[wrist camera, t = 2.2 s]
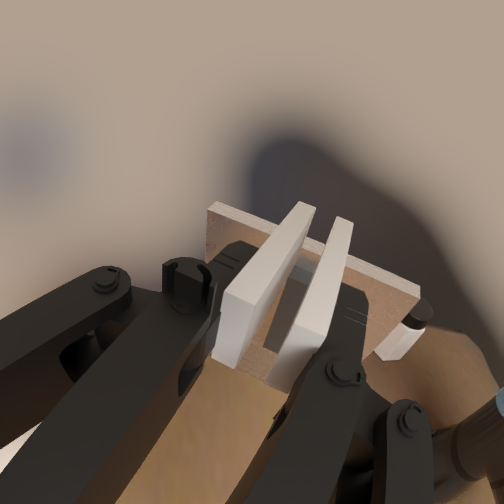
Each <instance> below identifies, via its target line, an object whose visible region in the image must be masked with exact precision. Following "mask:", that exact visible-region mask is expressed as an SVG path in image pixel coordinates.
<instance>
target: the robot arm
mask: <svg viewBox="0 0 504 504" xmlns="http://www.w3.org/2000/svg"><path fill="white" fill-rule="evenodd" d="M315 210H316V207H313V206H310V205H308V204H305V203H303V202H300V201H299V202H298V203H297V204H296V206H295V207H294V208H293V209H292V210H291V212H290V213H289V214H288V215H287V216H286V218H285V219H284V220H283V221H282V222H281V224H280V225H279V226H278V227H277V228H276V230H275V231H274V232H273V233H272V234H271V236H270V237H269V238H268V239H267V240H266V242H265V243H264V244H263V245H262V246H261V248H258V247H256V246H253V245H251V244H248V243H246V242H244V241H241V240H239V241H236V242H233V243H230V244H228V245H227V246H226V247H224V248H223V249H222V250H221V251H220V253H219V254H217V255H216V256H215V257H214V258H213V260H211V261H210V262H209V263H208V264H207V263H205V262H204V261H202V260H198V259H195V258H189V257H180V258H175V259H171V260H169V261H167V262H165V263H164V264H162V267H163V268H162V292H155V291H150V290H146V289H142V288H138V287H134V286H131V279H130V276H129V275H128V273H127V272H126V271H124V270H122V269H121V268H119V267H114V266H102V267H99V268H96V269H93V270H91V271H89V272H87V273H85V274H83V275H81V276H79V277H77V278H75V279H73V280H72V281H70V282H68V283H66V284H64V285H62V286H60V287H58V288H56V289H54V290H53V291H51V292H49V293H47V294H45V295H43V296H42V297H40V298H38V299H36V300H34V301H32V302H31V303H29V304H27V305H25V306H24V307H22V308H20V309H18V310H17V311H15V312H13V313H11V314H10V315H8V316H6V317H5V318H3V319H1V320H0V449H2V448H3V447H5V446H6V445H7V444H9V443H11V442H12V441H14V440H15V439H16V438H18V437H20V436H21V435H23V434H24V433H25V432H27V431H28V430H30V429H31V428H33V427H34V426H36V425H37V424H39V423H40V422H42V423H41V424H40V425H39V426H38V427H37V429H36V430H35V431H34V432H33V434H32V435H31V436H30V437H29V438H28V439H27V441H26V442H25V443H24V444H23V446H22V447H21V448H20V449H19V451H18V452H17V453H16V454H15V456H14V457H13V458H12V459H11V461H10V462H9V463H8V465H7V466H6V467H5V468H4V470H3V471H2V472H1V474H0V504H115V503H116V501H117V500H118V498H119V497H120V495H121V494H122V492H123V491H124V489H125V488H126V487H127V485H128V484H129V482H130V481H131V479H132V478H133V476H134V475H135V473H136V472H137V470H138V469H139V467H140V466H141V464H142V463H143V461H144V460H145V458H146V457H147V455H148V454H149V452H150V451H151V449H152V448H153V446H154V445H155V443H156V442H157V440H158V439H159V437H160V436H161V434H162V433H163V431H164V430H165V428H166V427H167V425H168V423H169V422H170V420H171V419H172V417H173V416H174V414H175V413H176V411H177V410H178V408H179V406H180V405H181V403H182V402H183V400H184V399H185V397H186V396H187V394H188V392H189V391H190V389H191V388H192V386H193V385H194V383H195V381H196V380H197V378H198V377H199V375H200V374H201V372H202V369H203V366H204V362H205V359H206V358H207V356H208V355H209V354H210V352H211V351H212V350H213V351H212V356H211V358H213V359H215V360H217V361H218V362H220V363H222V364H224V365H226V366H228V367H230V368H232V369H235V368H236V366H237V365H238V363H239V361H240V360H241V358H242V356H243V355H244V353H245V351H246V350H247V348H248V346H249V345H250V343H251V341H252V340H253V338H254V336H255V334H256V333H257V331H258V329H259V328H260V326H261V324H262V322H263V321H264V319H265V317H266V316H267V314H268V312H269V310H270V309H271V307H272V305H273V303H274V301H275V300H276V298H277V296H278V294H279V293H280V291H281V289H282V287H283V285H284V284H285V282H286V280H287V278H288V276H289V275H290V273H291V271H292V269H293V267H294V265H295V264H296V262H297V260H298V257H299V254H300V252H301V249H302V246H303V243H304V241H305V238H306V235H307V232H308V230H309V227H310V224H311V221H312V218H313V215H314V213H315ZM352 229H353V223H352V222H350V221H347V220H345V219H343V218H340V217H338V216H337V217H336V220H335V222H334V225H333V228H332V230H331V233H330V235H329V237H328V240H327V242H326V245H325V247H324V250H323V252H322V255H321V257H320V259H319V262H318V264H317V266H316V269H315V271H314V274H313V276H312V279H311V281H310V283H309V286H308V288H307V290H306V293H305V295H304V298H303V300H302V302H301V304H300V307H299V309H298V311H297V314H296V316H295V318H294V320H293V323H292V325H291V327H290V329H289V331H288V334H287V336H286V338H285V340H284V342H283V344H282V347H281V349H280V351H279V353H278V355H277V357H276V359H275V361H274V363H273V365H272V367H271V369H270V371H269V374H268V376H267V378H266V380H265V382H264V384H266V385H269V386H271V387H273V388H275V389H278V390H280V391H282V392H285V393H287V394H288V393H289V391H290V390H291V391H290V394H289V396H288V398H287V401H286V402H285V404H284V405H283V406H282V408H281V409H280V410H279V411H278V413H277V414H276V415H275V416H274V418H273V419H275V420H274V422H273V424H272V426H271V428H270V430H269V432H268V433H267V435H266V437H265V439H264V441H263V442H262V444H261V446H260V448H259V450H258V451H257V453H256V455H255V456H254V458H253V460H252V462H251V463H250V465H249V467H248V468H247V470H246V472H245V473H244V475H243V477H242V478H241V480H240V481H239V483H238V485H237V486H236V488H235V489H234V491H233V492H232V494H231V495H230V497H229V499H228V500H227V502H226V503H225V504H443V503H446V502H449V501H451V500H453V499H455V498H456V497H458V496H459V495H460V494H461V493H463V492H464V491H465V490H466V489H468V488H469V487H470V486H471V485H472V484H474V483H475V482H476V481H478V480H480V479H482V478H484V477H486V476H487V478H488V480H489V483H490V486H491V489H492V492H493V495H494V499H495V502H496V504H504V387H503V388H501V389H500V390H499V391H498V393H497V395H496V396H495V397H493V398H492V399H491V400H490V401H489V402H487V403H486V404H485V405H483V406H482V407H481V408H480V409H478V410H477V411H476V412H474V413H473V414H472V415H470V416H469V417H467V418H466V419H465V420H463V421H462V422H460V423H459V424H455V425H451V426H447V427H443V428H439V429H436V430H433V431H431V425H430V421H429V417H428V414H427V413H426V411H425V410H424V408H423V407H422V406H421V405H419V404H418V403H417V402H416V401H412V400H409V399H403V400H398V401H397V402H395V403H394V404H391V403H390V402H388V401H387V400H386V399H384V398H383V397H381V396H380V395H379V394H377V393H376V392H375V391H374V390H373V389H371V388H370V386H369V385H368V384H367V382H366V373H365V371H364V369H363V366H362V365H361V361H362V355H363V348H364V342H365V334H366V325H367V318H368V317H367V316H368V309H369V302H368V299H367V297H366V294H365V292H364V291H362V290H359V289H357V288H355V287H352V286H350V285H348V284H345V283H343V282H341V280H342V276H343V272H344V267H345V263H346V259H347V253H348V249H349V244H350V240H351V234H352Z"/></svg>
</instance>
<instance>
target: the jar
mask: <svg viewBox="0 0 504 504" xmlns="http://www.w3.org/2000/svg"><path fill="white" fill-rule="evenodd" d="M432 316H433V311H432V308H431V306H430V305H429V304H428V302H427V301H426V300H425V299H424V298H423V297H421V296H420V300H419V301H418V302H417V303H416V305H415V306H414V307H413V308H412V309H411V310H410V312H409V313H408V314H407V315H406V316H405V317H404V318H403V320H402V321H401V322H400V323H399V324H398V325H397V326H396V327H395V328H394V330H393V331H392V332H391V333H390V334H389V335H388V336H387V337H386V338H385V339H384V340H383V341H382V342H381V343H380V344H379V345H378V346H377V347H376V348H375V349H374V350H373V351H374V352H375V353H376V354H377V355H378V356H379V357H380V358H381V359H382V360H383V361H388V360H400V359H401V358H402V357H403V356H404V355H405V353H406V352H407V351H408V350H409V349H410V348H411V347H412V345H413V344H414V343H415V342H416V341H417V340H418V338H419V337H420V336H421V335H422V334H423V332H424V331H425V326H426V325H427V324H428V323H429V321H430V320H431V319H432Z"/></svg>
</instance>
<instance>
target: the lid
mask: <svg viewBox="0 0 504 504" xmlns="http://www.w3.org/2000/svg"><path fill="white" fill-rule="evenodd" d="M278 226H279V225H276V224H274V223H271V222H269V221H266V220H264V219H261V218H259V217H256V216H254V215H251V214H248V213H246V212H243V211H241V210H238V209H236V208H233V207H230V206H228V205H225V204H222V203H220V202H217V201H216V202H215V203H214V204H213V205H211V206H210V207H209V208H208V209H207V225H206V251H205V263H207V264H208V263H209V262H210V261H211V260H213V258H214V257H215V256H216V255H217V254H219V253H220V251H221V250H222V249H223V248H224V247H226V246H227V245H228V244H230V243H233V242H236V241H239V240H241V241H244V242H246V243H248V244H251V245H253V246H256V247H258V248H261V246H262V245H263V244H264V243H265V242H266V240H267V239H268V238H269V237H270V236H271V234H272V233H273V232H274V231H275V230H276V228H277V227H278ZM324 247H325V244H323V243H320V242H318V241H315V240H313V239H311V238H309V237H306V238H305V241H304V243H303V246H302V249H301V252H300V254H299V257H298V260H297V262H296V264H295V265H294V267H293V269H292V271H291V273H290V275H289V276H288V278H287V280H286V282H285V284H284V285H283V287H282V289H281V291H280V293H279V294H278V296H277V298H276V300H275V301H274V303H273V305H272V307H271V309H270V310H269V312H268V314H267V316H266V317H265V319H264V321H263V322H262V324H261V326H260V328H259V329H258V331H257V333H256V334H255V336H254V338H253V340H252V341H251V343H253V344H255V345H257V346H260V347H262V348H264V349H266V350H268V351H270V352H273V353H275V354H277V355H278V353H279V351H280V349H281V347H282V344H283V342H284V340H285V338H286V336H287V334H288V331H289V329H290V327H291V325H292V323H293V320H294V318H295V316H296V314H297V311H298V309H299V307H300V304H301V302H302V300H303V298H304V295H305V293H306V290H307V288H308V286H309V283H310V281H311V279H312V276H313V274H314V271H315V269H316V266H317V264H318V262H319V259H320V257H321V255H322V252H323V250H324ZM341 282H343V283H345V284H348V285H350V286H352V287H355V288H357V289H359V290H362V291H364V292H365V294H366V297H367V299H368V302H369V309H368V316H367V317H368V318H367V325H366V334H365V342H364V348H363V355H362V361H363V360H364V359H365V358H366V357H367V356H368V355H369V354H370V353H371V352H372V351H373V350H374V349H375V348H376V347H377V346H378V345H379V344H380V343H381V342H382V341H383V340H384V339H385V338H386V337H387V336H388V335H389V334H390V333H391V332H392V331H393V330H394V328H395V327H396V326H397V325H398V324H399V323H400V322H401V321H402V320H403V318H404V317H405V316H406V315H407V314H408V313H409V312H410V310H411V309H412V308H413V307H414V306H415V305H416V303H417V302H418V301H419V300H420V286H418V285H416V284H414V283H412V282H409V281H407V280H405V279H403V278H401V277H399V276H397V275H394V274H392V273H390V272H388V271H385V270H383V269H381V268H379V267H376V266H374V265H372V264H370V263H367V262H365V261H363V260H360V259H358V258H356V257H354V256H351V255H349V254H347V259H346V263H345V267H344V272H343V276H342V280H341ZM362 361H361V362H362Z"/></svg>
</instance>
